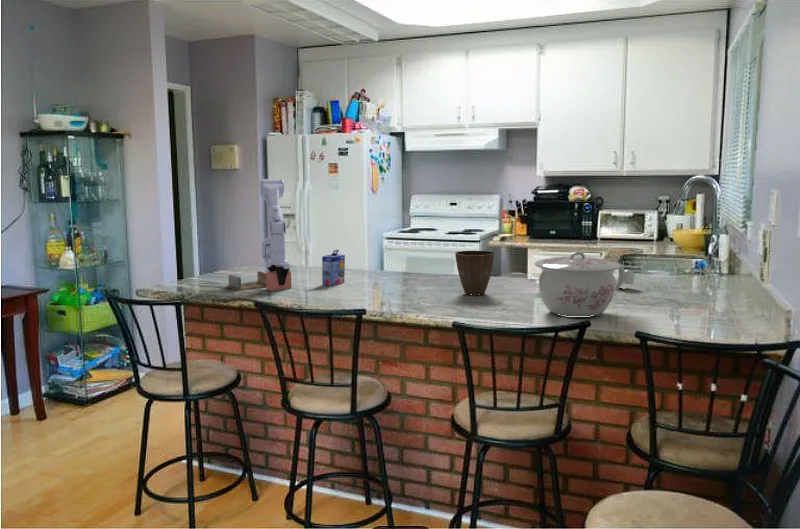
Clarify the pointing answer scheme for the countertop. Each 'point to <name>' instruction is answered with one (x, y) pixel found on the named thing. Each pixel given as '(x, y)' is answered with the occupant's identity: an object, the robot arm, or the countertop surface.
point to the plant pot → (474, 270)
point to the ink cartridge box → (333, 269)
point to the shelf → (261, 282)
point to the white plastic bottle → (628, 276)
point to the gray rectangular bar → (235, 281)
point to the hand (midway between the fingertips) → (279, 284)
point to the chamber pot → (578, 284)
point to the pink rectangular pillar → (273, 281)
